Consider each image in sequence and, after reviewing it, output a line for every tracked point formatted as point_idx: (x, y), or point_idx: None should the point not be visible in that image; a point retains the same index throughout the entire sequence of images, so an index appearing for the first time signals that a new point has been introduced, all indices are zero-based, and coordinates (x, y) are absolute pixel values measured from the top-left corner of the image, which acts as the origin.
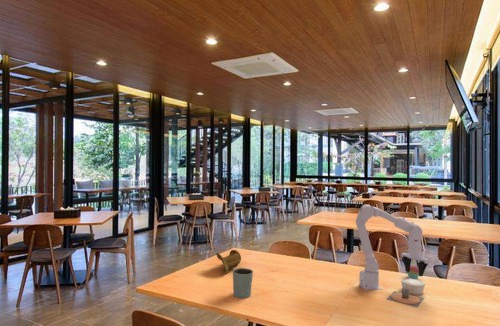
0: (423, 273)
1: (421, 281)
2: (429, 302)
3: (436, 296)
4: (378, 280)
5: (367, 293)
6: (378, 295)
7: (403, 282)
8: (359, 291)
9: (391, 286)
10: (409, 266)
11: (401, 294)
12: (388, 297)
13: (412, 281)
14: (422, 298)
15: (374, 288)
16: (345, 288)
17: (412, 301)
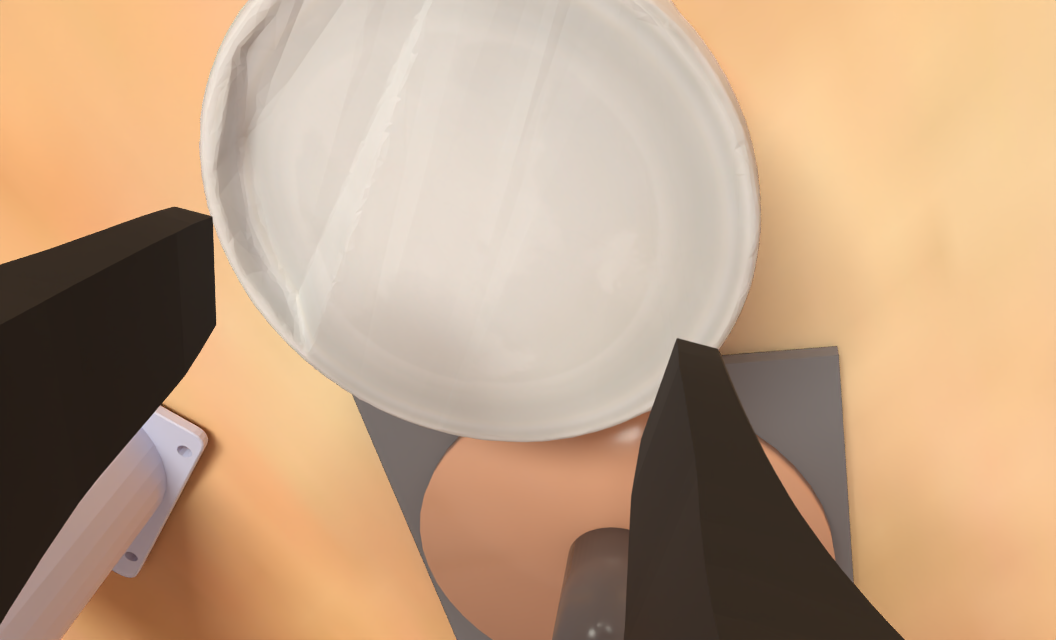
0: (737, 397)
1: (597, 3)
2: (951, 420)
3: (1014, 4)
4: (80, 523)
5: (232, 625)
6: (336, 607)
7: (379, 408)
8: (148, 625)
9: (146, 178)
10: (94, 315)
11: (519, 498)
12: (458, 626)
13: (451, 215)
14: (814, 385)
15: (160, 504)
16: None
17: None
